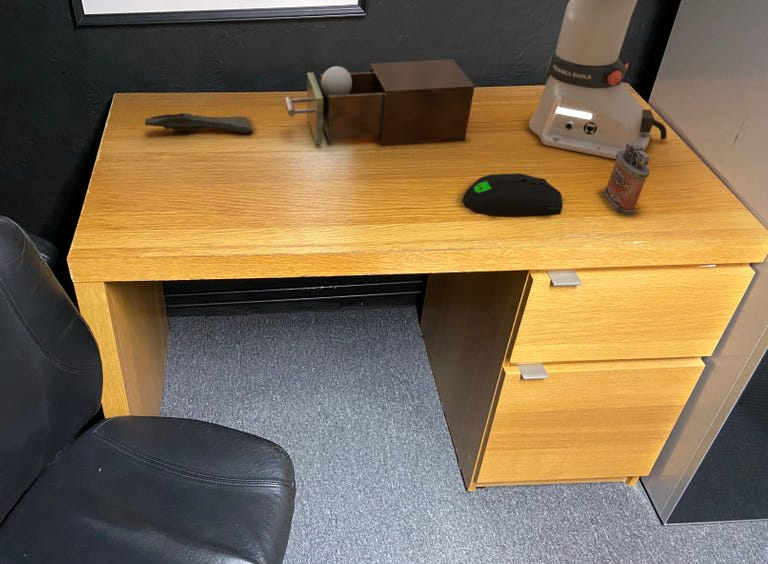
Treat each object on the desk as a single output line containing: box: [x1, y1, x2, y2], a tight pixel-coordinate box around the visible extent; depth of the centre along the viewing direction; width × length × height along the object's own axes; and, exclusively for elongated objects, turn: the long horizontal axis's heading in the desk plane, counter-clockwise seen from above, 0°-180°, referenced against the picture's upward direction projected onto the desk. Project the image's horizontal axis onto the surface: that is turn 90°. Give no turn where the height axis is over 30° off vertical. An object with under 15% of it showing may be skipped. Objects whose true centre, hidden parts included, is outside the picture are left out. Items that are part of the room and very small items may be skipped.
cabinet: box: [369, 59, 476, 147], centre depth 135 cm, size 17×14×11 cm
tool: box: [144, 112, 253, 134], centre depth 137 cm, size 21×8×3 cm, turn 101°
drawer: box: [284, 71, 385, 145], centre depth 133 cm, size 20×12×9 cm, turn 97°
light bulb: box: [321, 65, 352, 100], centre depth 133 cm, size 6×6×10 cm
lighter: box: [602, 142, 651, 216], centre depth 113 cm, size 8×3×10 cm, turn 5°
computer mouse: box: [461, 172, 564, 218], centre depth 117 cm, size 11×16×4 cm
